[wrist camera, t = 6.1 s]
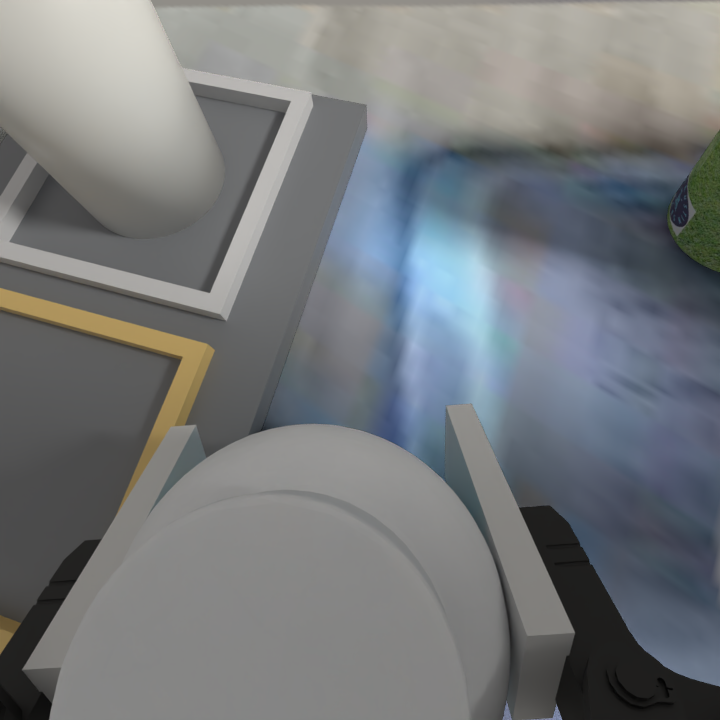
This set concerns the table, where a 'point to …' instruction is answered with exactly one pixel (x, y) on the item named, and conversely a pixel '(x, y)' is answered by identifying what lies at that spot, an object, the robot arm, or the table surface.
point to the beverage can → (699, 210)
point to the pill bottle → (297, 594)
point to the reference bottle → (108, 112)
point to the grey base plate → (152, 319)
